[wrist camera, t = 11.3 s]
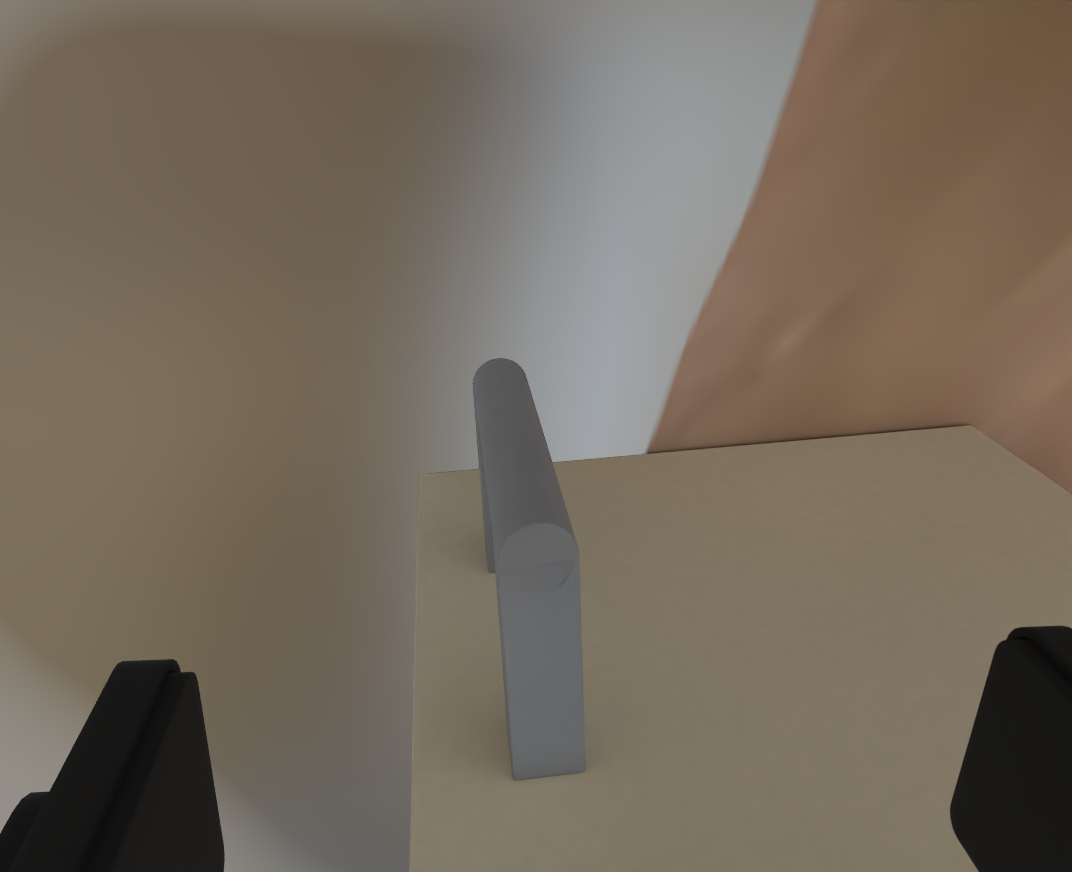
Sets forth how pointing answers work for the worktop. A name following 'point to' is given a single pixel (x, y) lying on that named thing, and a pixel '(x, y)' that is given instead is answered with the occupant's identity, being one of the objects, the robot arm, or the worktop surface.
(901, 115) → the worktop surface
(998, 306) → the worktop surface
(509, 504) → the cupboard door
